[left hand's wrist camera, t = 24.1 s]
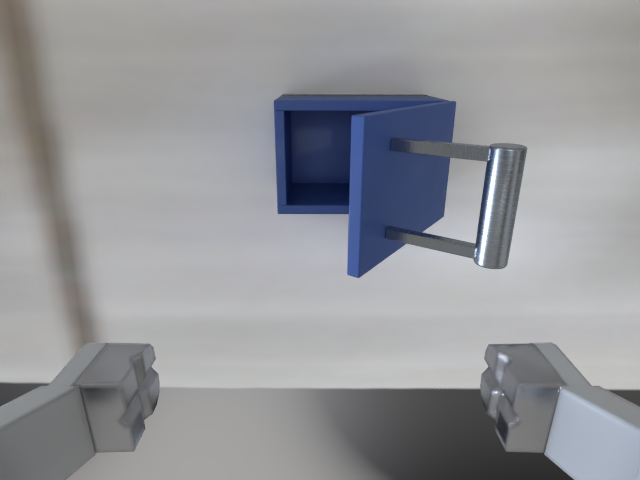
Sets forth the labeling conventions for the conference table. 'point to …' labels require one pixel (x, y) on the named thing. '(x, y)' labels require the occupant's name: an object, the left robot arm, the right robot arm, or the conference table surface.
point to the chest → (322, 147)
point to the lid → (423, 186)
